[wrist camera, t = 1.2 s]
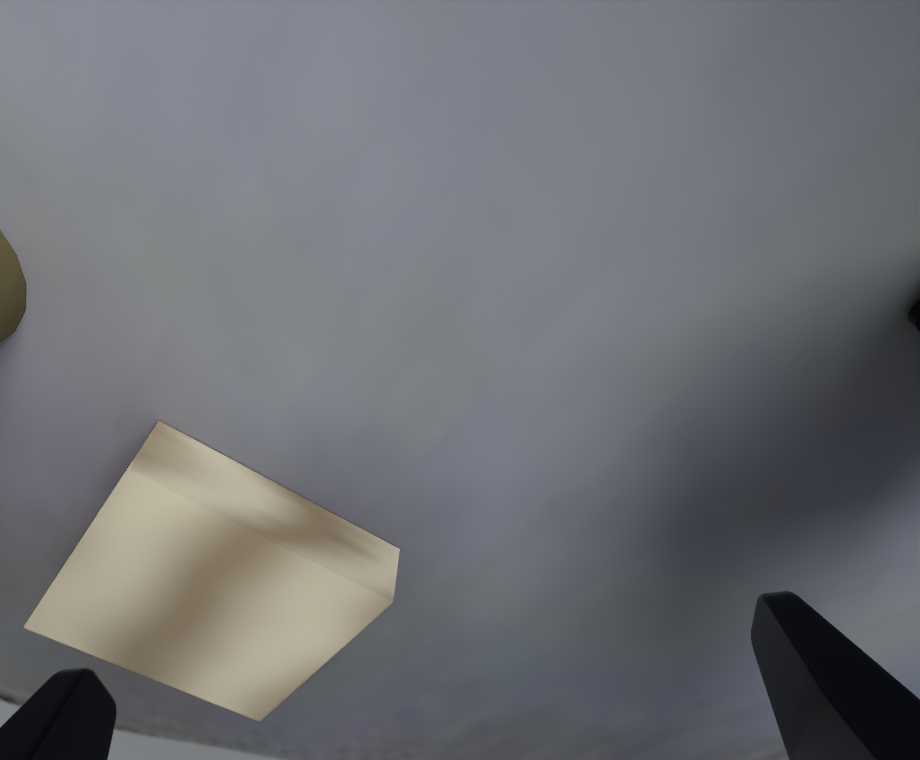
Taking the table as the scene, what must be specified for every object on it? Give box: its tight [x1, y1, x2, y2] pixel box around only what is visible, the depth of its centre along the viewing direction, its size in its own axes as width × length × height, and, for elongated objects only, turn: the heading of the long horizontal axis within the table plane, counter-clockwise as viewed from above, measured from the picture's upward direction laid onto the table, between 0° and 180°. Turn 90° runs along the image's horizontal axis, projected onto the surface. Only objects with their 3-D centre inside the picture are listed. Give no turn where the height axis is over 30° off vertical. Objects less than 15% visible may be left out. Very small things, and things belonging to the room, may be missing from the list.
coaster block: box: [23, 421, 400, 722], centre depth 26 cm, size 10×10×2 cm
